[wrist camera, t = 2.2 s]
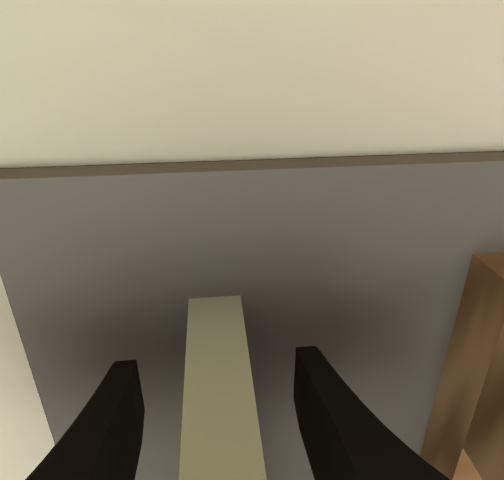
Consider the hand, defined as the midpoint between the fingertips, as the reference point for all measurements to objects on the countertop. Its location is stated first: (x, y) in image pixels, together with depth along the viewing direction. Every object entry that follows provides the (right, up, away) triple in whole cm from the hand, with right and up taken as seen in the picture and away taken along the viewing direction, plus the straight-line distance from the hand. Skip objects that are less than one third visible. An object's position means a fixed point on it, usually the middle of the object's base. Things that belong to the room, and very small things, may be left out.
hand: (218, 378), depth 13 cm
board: (+5, -3, +5) cm, 8 cm away
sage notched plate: (0, -4, +3) cm, 5 cm away
